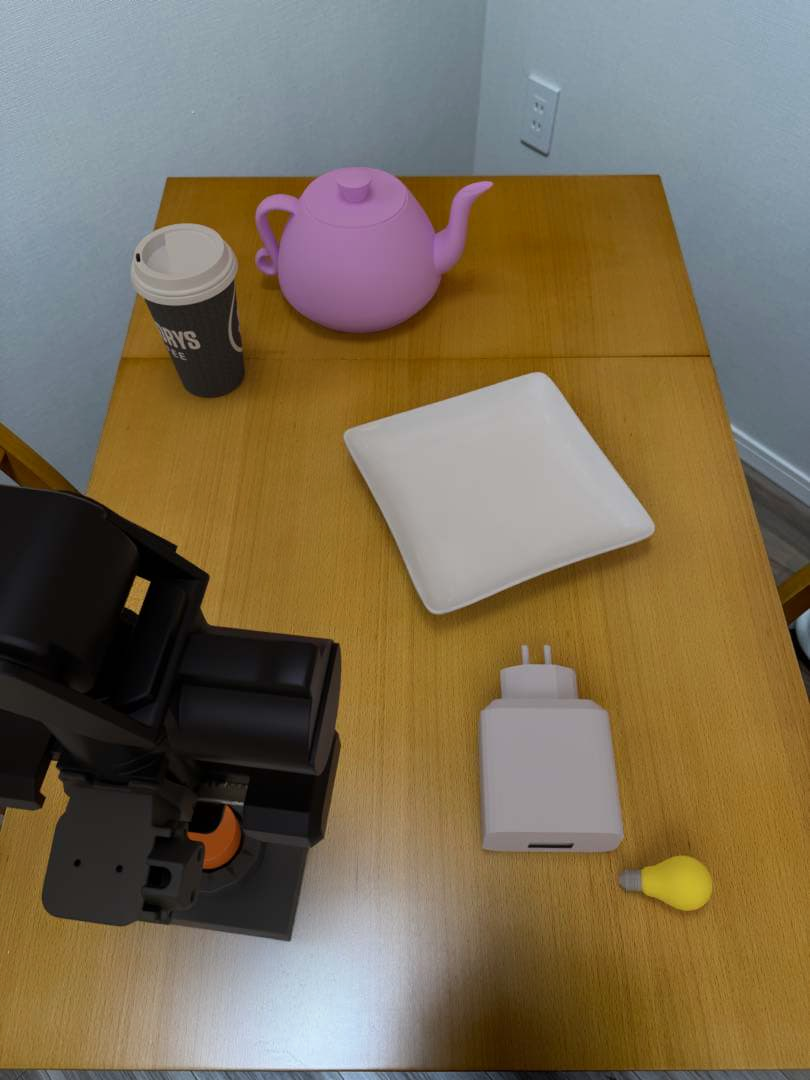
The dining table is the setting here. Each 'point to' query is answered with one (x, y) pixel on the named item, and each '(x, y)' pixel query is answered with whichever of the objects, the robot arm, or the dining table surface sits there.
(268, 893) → the switch base
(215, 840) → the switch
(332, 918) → the dining table surface
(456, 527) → the plate
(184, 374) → the coffee cup
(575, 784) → the charger
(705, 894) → the light bulb
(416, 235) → the teapot
